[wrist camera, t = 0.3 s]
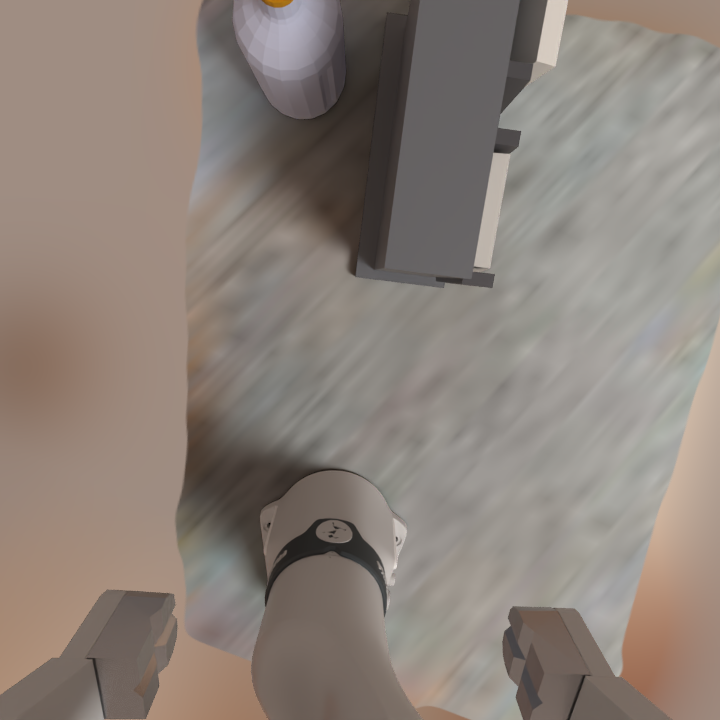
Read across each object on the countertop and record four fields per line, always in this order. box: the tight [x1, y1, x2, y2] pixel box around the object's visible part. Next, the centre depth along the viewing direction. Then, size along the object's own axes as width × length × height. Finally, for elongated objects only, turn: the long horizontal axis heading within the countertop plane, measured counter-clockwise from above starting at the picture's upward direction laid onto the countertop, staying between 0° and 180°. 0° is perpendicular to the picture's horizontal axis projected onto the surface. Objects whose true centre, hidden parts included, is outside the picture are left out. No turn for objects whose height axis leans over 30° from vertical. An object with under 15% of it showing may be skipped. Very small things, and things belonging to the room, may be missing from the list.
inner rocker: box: [473, 153, 510, 272], centre depth 36 cm, size 8×2×10 cm, turn 173°
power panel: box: [356, 0, 533, 288], centre depth 36 cm, size 26×10×20 cm, turn 173°
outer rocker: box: [510, 0, 568, 87], centre depth 33 cm, size 8×2×10 cm, turn 173°
